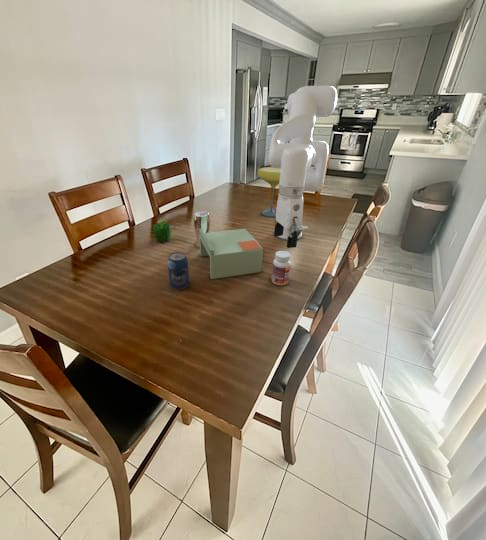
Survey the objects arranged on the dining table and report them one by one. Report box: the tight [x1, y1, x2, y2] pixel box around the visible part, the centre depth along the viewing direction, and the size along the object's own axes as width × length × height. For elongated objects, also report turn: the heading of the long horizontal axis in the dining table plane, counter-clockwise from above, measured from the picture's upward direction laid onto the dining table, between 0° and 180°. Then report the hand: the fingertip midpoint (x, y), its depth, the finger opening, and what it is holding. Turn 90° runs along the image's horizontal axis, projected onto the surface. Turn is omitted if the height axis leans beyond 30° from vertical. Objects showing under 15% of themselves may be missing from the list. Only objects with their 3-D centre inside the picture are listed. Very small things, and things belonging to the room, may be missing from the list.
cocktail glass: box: [257, 164, 281, 218], centre depth 163 cm, size 18×18×25 cm
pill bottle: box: [271, 250, 292, 286], centre depth 105 cm, size 6×6×11 cm
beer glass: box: [193, 210, 211, 249], centre depth 130 cm, size 7×7×15 cm
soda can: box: [167, 251, 190, 291], centre depth 103 cm, size 7×7×12 cm
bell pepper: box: [152, 219, 172, 243], centre depth 136 cm, size 8×8×10 cm
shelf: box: [199, 228, 264, 280], centre depth 117 cm, size 20×20×12 cm
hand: (284, 241), depth 99 cm, fingers open, 9 cm apart
